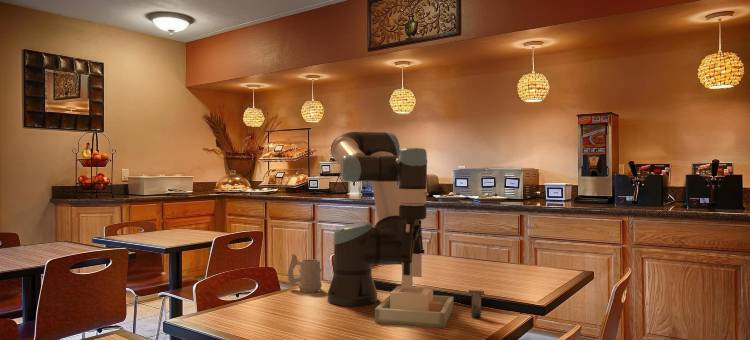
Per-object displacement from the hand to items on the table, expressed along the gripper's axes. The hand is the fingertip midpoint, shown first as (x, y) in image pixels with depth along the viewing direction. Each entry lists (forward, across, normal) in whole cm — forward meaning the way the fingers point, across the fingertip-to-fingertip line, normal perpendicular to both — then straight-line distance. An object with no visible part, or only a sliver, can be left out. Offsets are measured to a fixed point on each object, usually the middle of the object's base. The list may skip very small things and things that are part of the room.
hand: (412, 281), depth 144 cm
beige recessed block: (+8, -1, -2) cm, 8 cm away
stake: (+9, +1, -17) cm, 19 cm away
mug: (+10, +21, +41) cm, 47 cm away
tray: (+9, -1, -1) cm, 9 cm away
